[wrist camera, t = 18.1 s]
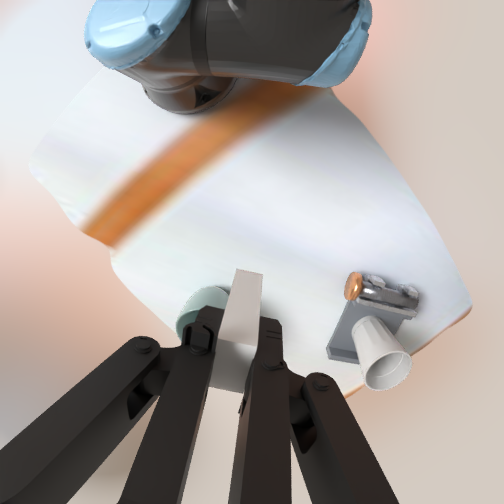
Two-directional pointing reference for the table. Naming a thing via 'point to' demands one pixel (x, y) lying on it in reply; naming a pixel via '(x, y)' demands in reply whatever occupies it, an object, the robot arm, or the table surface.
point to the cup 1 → (200, 305)
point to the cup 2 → (380, 354)
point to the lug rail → (386, 306)
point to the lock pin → (377, 292)
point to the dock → (341, 339)
